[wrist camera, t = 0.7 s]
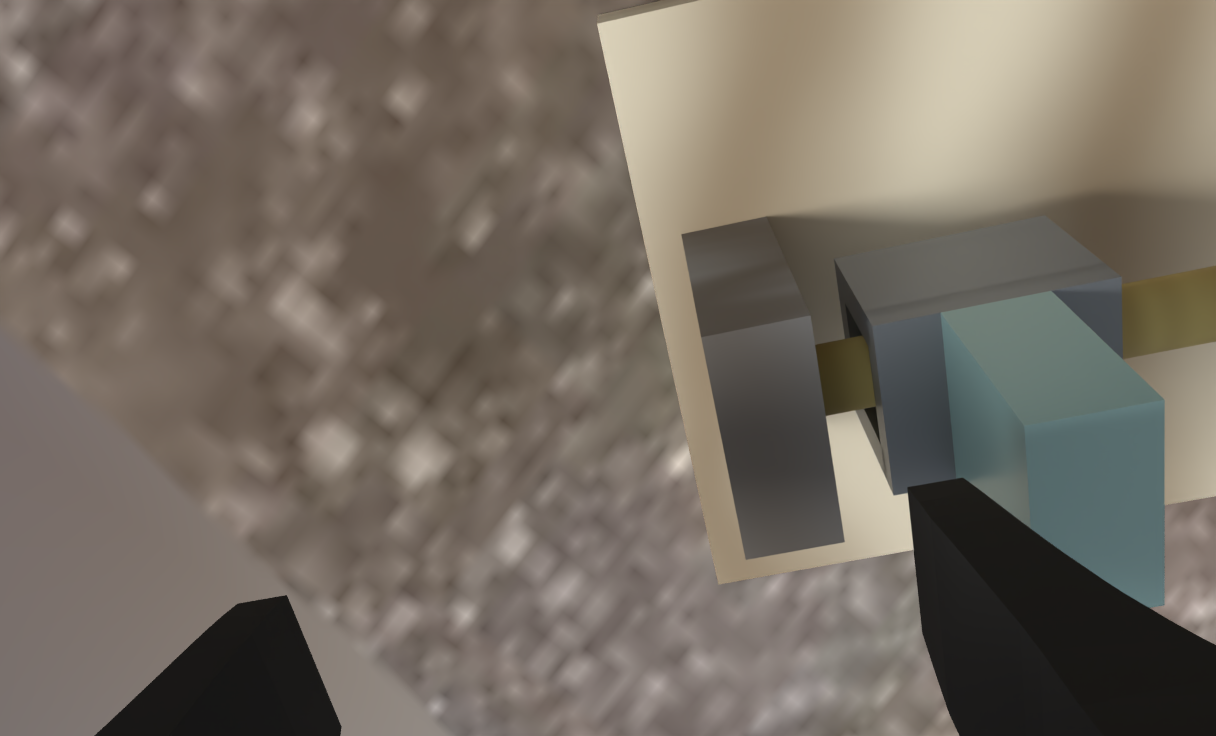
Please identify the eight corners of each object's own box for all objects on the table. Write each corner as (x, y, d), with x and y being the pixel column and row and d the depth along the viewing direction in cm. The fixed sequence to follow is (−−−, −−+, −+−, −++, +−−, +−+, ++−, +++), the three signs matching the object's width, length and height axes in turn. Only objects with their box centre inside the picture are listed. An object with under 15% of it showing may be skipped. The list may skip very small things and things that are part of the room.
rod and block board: (1659, -231, 18) (2126, -275, 12) (1549, 400, 23) (1846, 570, 17) (597, 14, 19) (593, 72, 14) (713, 552, 24) (742, 749, 19)
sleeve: (1045, 215, 18) (1253, 382, 12) (1052, 371, 19) (1245, 591, 13) (834, 258, 18) (937, 441, 13) (854, 409, 20) (958, 640, 14)
